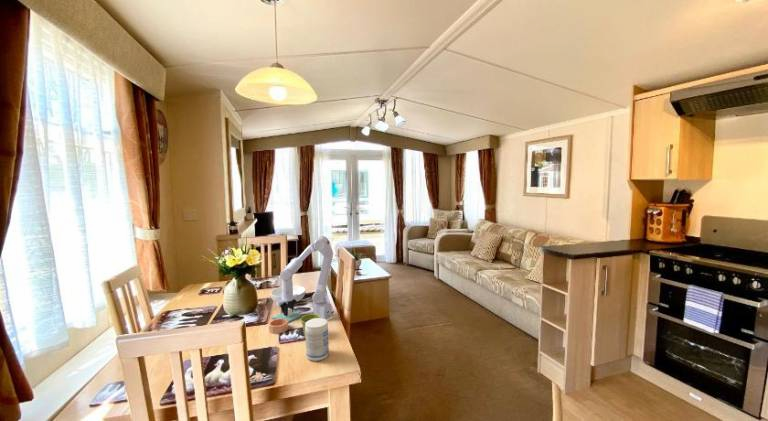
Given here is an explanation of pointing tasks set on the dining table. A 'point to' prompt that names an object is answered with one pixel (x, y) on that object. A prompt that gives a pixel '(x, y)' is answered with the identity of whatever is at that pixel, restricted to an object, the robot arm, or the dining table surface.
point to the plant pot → (307, 318)
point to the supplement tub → (316, 339)
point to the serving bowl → (277, 293)
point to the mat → (293, 320)
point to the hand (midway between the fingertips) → (288, 314)
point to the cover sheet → (294, 316)
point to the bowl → (278, 326)
